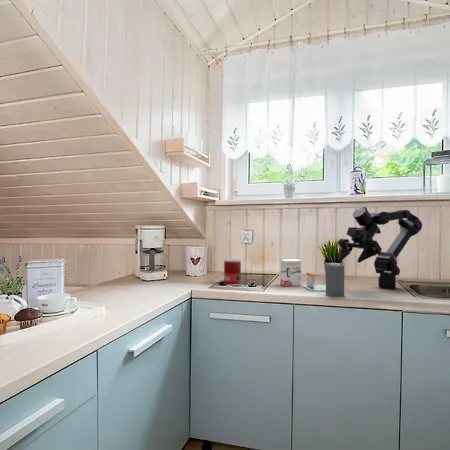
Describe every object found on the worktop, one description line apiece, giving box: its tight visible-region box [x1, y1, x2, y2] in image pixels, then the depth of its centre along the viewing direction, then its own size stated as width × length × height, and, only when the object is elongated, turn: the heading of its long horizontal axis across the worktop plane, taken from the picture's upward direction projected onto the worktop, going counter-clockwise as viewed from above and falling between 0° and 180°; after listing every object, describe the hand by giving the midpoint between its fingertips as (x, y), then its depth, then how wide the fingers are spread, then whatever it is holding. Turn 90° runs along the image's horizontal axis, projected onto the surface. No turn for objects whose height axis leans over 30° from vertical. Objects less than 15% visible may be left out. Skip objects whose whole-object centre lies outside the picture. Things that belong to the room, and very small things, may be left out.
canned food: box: [223, 258, 242, 285], centre depth 171 cm, size 8×8×11 cm
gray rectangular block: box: [325, 262, 345, 298], centre depth 142 cm, size 5×5×13 cm
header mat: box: [301, 284, 326, 292], centre depth 156 cm, size 13×13×1 cm
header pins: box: [306, 271, 316, 289], centre depth 156 cm, size 2×8×6 cm, turn 4°
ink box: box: [280, 258, 302, 287], centre depth 164 cm, size 9×5×12 cm, turn 105°
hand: (349, 260), depth 146 cm, fingers open, 9 cm apart
